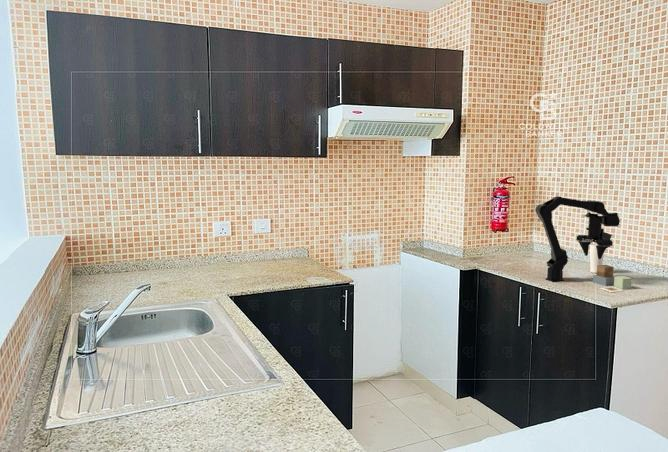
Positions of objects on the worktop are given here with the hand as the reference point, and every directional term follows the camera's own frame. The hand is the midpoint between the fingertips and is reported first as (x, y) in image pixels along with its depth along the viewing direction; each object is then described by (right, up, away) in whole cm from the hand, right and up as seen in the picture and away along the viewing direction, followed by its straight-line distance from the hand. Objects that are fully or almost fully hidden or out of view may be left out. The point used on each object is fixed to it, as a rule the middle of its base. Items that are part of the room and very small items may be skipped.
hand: (592, 257), depth 249 cm
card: (0, -14, -17) cm, 22 cm away
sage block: (+7, -14, -13) cm, 20 cm away
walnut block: (+3, -9, -6) cm, 11 cm away
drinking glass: (+11, -9, +19) cm, 24 cm away
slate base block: (+3, -13, -5) cm, 14 cm away
